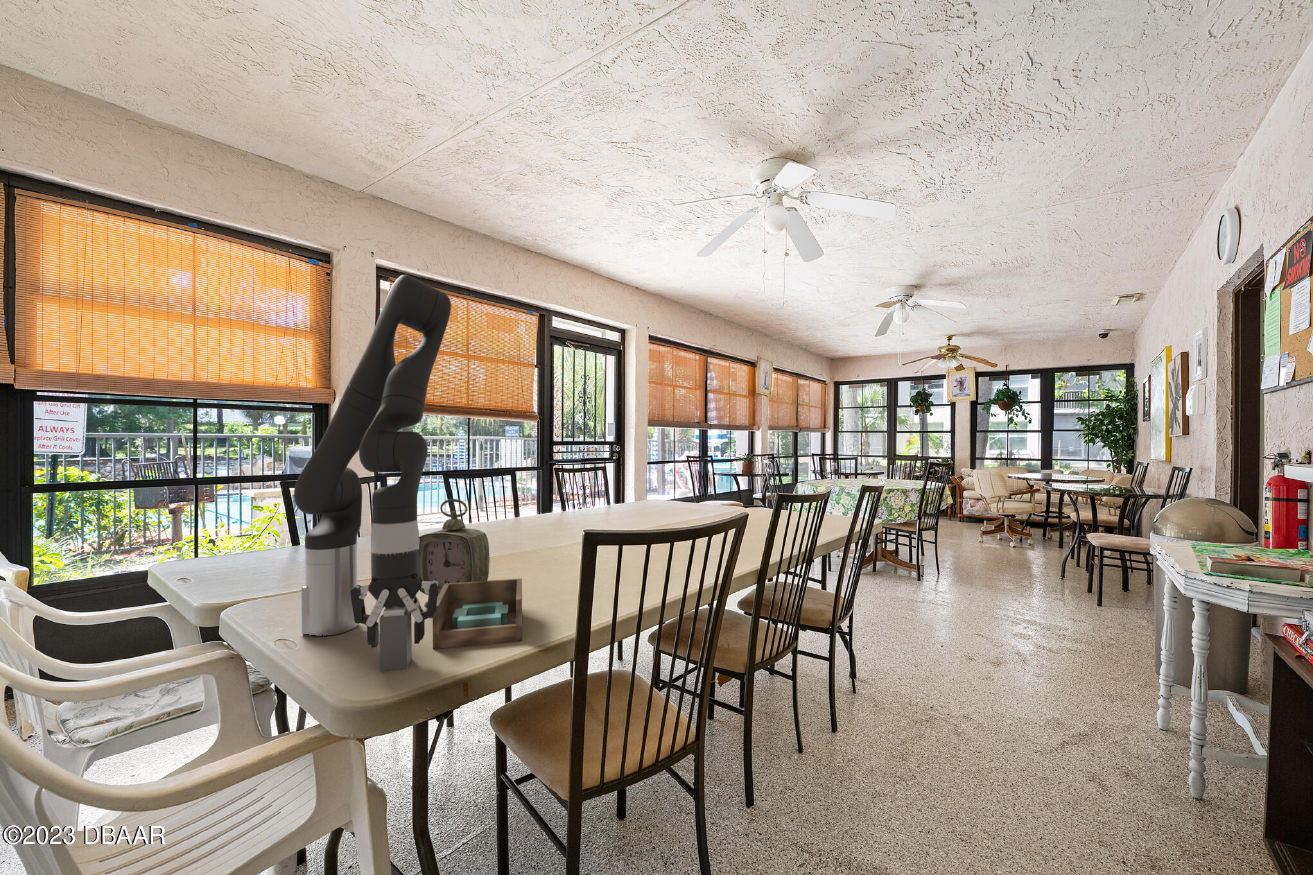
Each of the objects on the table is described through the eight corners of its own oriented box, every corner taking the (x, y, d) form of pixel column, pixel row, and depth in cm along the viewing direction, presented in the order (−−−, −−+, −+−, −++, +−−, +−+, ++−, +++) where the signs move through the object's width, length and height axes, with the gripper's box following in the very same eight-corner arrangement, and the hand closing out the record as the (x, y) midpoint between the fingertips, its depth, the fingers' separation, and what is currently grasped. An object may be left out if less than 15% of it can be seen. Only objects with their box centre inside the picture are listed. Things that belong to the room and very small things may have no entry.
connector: (380, 671, 92) (379, 612, 92) (386, 661, 96) (385, 604, 96) (406, 668, 93) (406, 610, 93) (411, 659, 97) (411, 602, 97)
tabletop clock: (415, 610, 125) (414, 500, 124) (440, 599, 133) (439, 496, 133) (472, 614, 121) (471, 501, 121) (494, 602, 130) (492, 497, 130)
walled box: (432, 649, 102) (432, 606, 102) (445, 620, 117) (444, 583, 117) (521, 640, 105) (521, 599, 105) (522, 614, 121) (521, 578, 121)
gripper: (342, 554, 89) (343, 657, 89) (436, 549, 93) (437, 648, 93) (355, 545, 97) (357, 640, 97) (442, 540, 100) (444, 632, 100)
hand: (396, 643), depth 95 cm, fingers open, 6 cm apart
